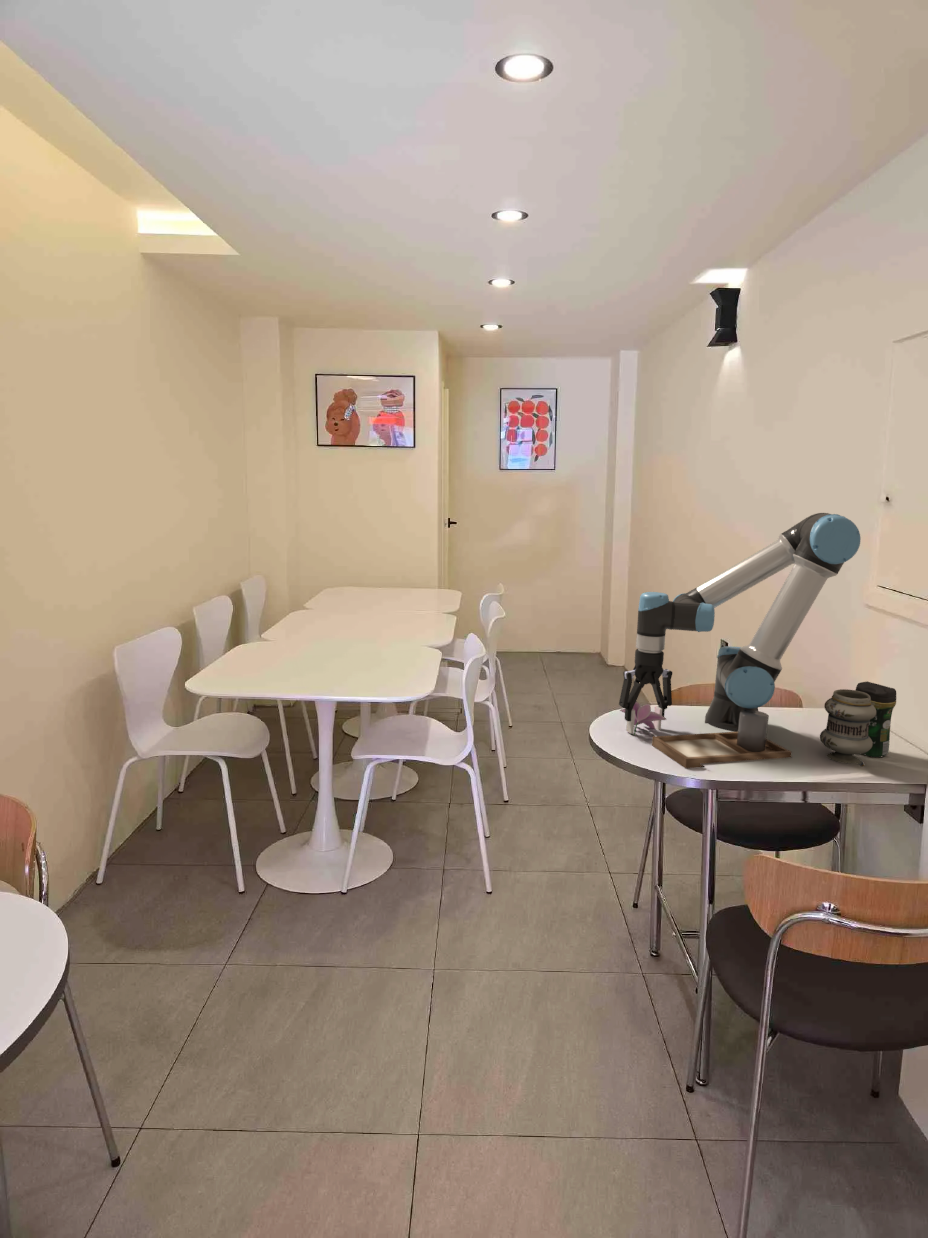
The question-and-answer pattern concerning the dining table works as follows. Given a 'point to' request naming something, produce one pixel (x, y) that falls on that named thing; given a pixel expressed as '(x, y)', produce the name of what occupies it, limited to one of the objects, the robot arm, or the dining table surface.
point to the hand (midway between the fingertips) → (643, 731)
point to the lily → (645, 715)
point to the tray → (712, 749)
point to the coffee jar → (879, 716)
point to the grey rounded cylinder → (752, 730)
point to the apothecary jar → (848, 725)
